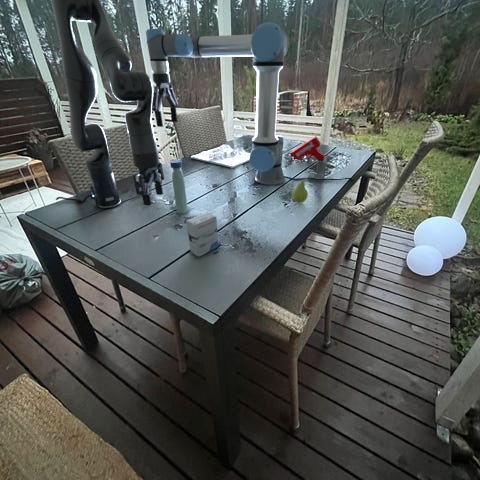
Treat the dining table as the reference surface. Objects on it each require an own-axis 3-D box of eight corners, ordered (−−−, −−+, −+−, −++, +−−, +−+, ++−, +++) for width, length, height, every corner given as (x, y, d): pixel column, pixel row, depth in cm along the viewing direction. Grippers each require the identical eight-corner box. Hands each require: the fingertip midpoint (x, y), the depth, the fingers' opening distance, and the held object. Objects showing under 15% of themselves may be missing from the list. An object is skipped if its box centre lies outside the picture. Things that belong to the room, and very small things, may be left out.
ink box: (209, 241, 95) (207, 210, 88) (218, 246, 92) (217, 215, 85) (189, 251, 90) (185, 219, 83) (198, 257, 87) (195, 225, 80)
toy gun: (328, 156, 170) (316, 135, 166) (328, 158, 166) (315, 136, 162) (303, 171, 180) (291, 152, 176) (302, 173, 176) (290, 153, 172)
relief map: (232, 167, 162) (232, 159, 160) (191, 158, 180) (190, 150, 177) (257, 157, 181) (258, 149, 178) (218, 149, 198) (217, 142, 196)
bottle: (187, 208, 117) (181, 160, 106) (188, 212, 113) (182, 163, 102) (176, 209, 116) (169, 161, 105) (177, 214, 112) (169, 164, 101)
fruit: (288, 200, 123) (290, 174, 116) (302, 197, 125) (305, 172, 119) (296, 206, 118) (299, 179, 111) (310, 203, 120) (314, 177, 114)
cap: (181, 164, 107) (181, 159, 106) (182, 168, 103) (181, 162, 102) (170, 165, 106) (169, 160, 105) (171, 169, 102) (170, 163, 101)
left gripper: (144, 143, 88) (153, 190, 96) (119, 155, 76) (132, 207, 85) (166, 144, 86) (173, 192, 95) (144, 156, 74) (154, 209, 83)
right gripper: (167, 72, 132) (173, 119, 143) (136, 73, 112) (146, 128, 123) (181, 72, 130) (186, 120, 141) (151, 73, 110) (160, 129, 121)
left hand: (154, 199), depth 90 cm, fingers open, 8 cm apart
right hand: (167, 124), depth 132 cm, fingers open, 13 cm apart
